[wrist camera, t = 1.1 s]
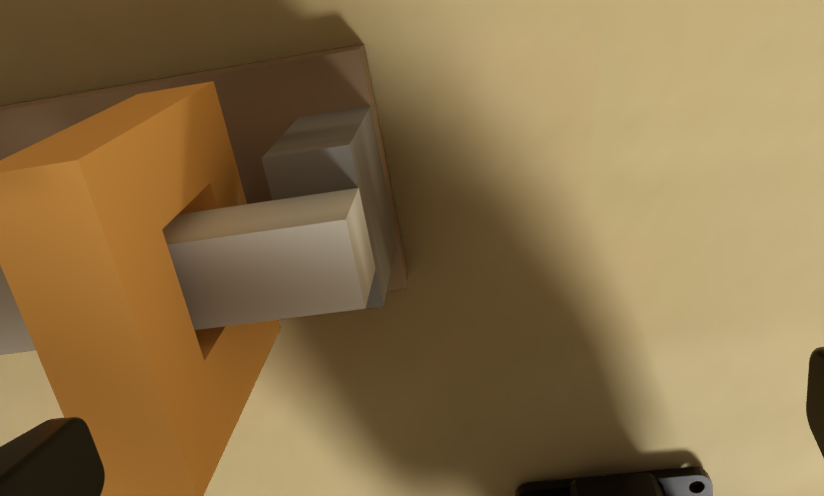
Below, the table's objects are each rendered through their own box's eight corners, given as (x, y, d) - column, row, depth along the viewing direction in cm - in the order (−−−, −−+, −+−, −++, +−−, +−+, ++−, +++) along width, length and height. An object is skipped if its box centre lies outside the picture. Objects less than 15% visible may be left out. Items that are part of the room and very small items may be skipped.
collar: (280, 327, 21) (199, 503, 14) (213, 336, 21) (104, 512, 15) (213, 80, 18) (78, 160, 12) (137, 94, 18) (-37, 177, 12)
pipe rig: (408, 274, 23) (386, 411, 16) (-142, 346, 25) (-356, 491, 18) (364, 44, 20) (317, 95, 14) (-246, 148, 22) (-537, 235, 16)
